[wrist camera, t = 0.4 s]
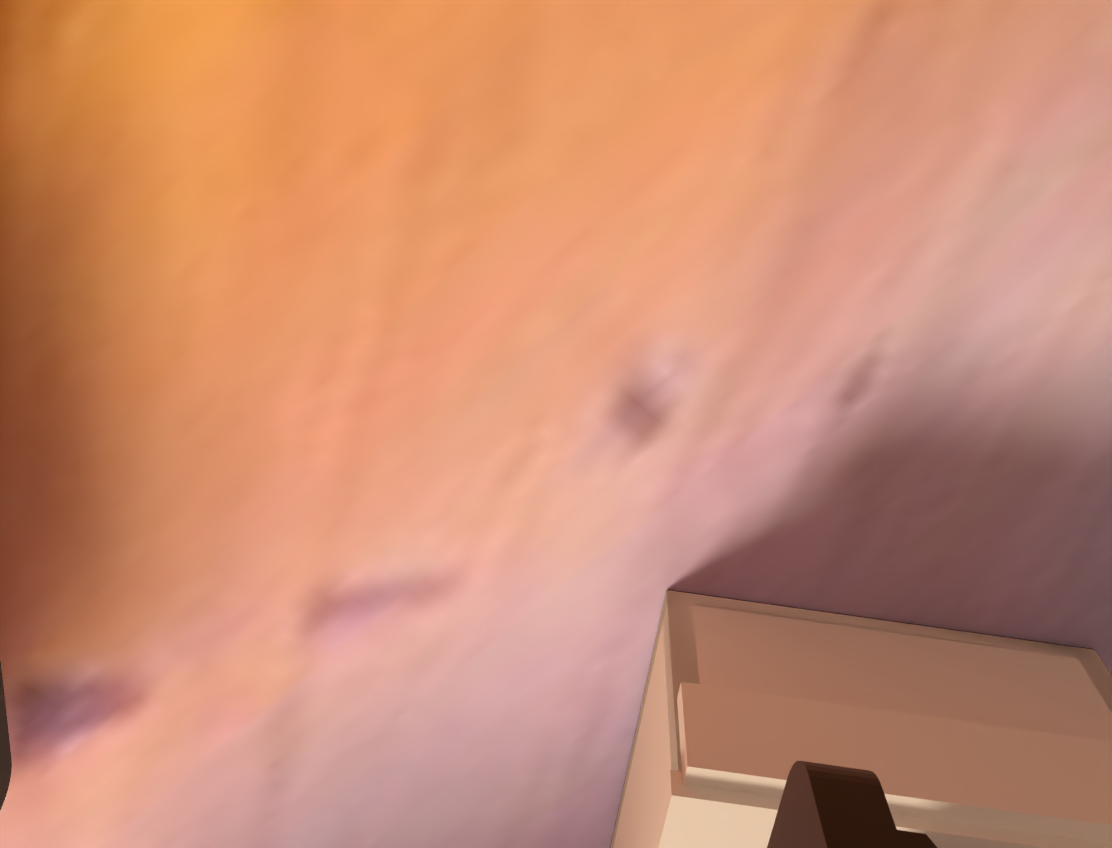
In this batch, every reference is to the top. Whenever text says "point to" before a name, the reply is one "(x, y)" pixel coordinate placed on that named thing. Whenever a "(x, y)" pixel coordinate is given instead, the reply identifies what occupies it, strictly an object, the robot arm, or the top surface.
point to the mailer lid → (881, 773)
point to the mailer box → (848, 680)
